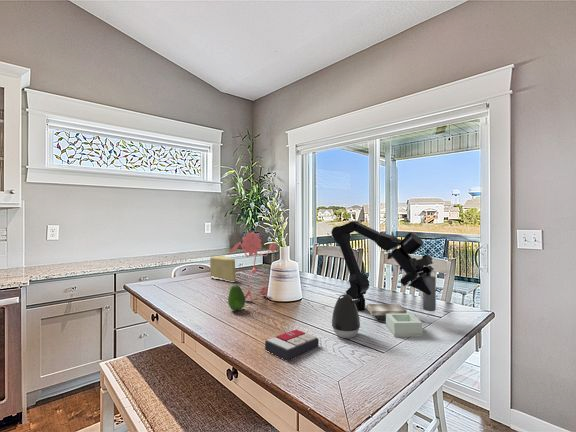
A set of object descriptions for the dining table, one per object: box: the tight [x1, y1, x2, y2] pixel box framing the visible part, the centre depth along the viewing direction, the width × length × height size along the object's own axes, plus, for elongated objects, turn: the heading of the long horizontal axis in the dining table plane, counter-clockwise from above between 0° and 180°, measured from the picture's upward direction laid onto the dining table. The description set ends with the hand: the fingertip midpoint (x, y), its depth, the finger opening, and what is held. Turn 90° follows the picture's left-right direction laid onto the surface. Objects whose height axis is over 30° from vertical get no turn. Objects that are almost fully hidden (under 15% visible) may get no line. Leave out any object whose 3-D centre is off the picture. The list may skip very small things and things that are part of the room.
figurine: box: [229, 230, 277, 302], centre depth 167 cm, size 15×26×35 cm, turn 128°
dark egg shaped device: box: [331, 293, 361, 339], centre depth 117 cm, size 10×10×15 cm
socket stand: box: [385, 312, 423, 338], centre depth 120 cm, size 10×10×5 cm
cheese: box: [209, 255, 237, 281], centre depth 208 cm, size 22×10×15 cm, turn 43°
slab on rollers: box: [366, 303, 408, 321], centre depth 135 cm, size 14×9×4 cm, turn 90°
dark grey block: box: [422, 275, 437, 312], centre depth 124 cm, size 4×4×12 cm
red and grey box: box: [264, 329, 320, 362], centre depth 108 cm, size 11×4×15 cm
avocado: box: [227, 284, 246, 311], centre depth 148 cm, size 8×8×12 cm
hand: (432, 293), depth 123 cm, fingers closed on dark grey block, 4 cm apart
